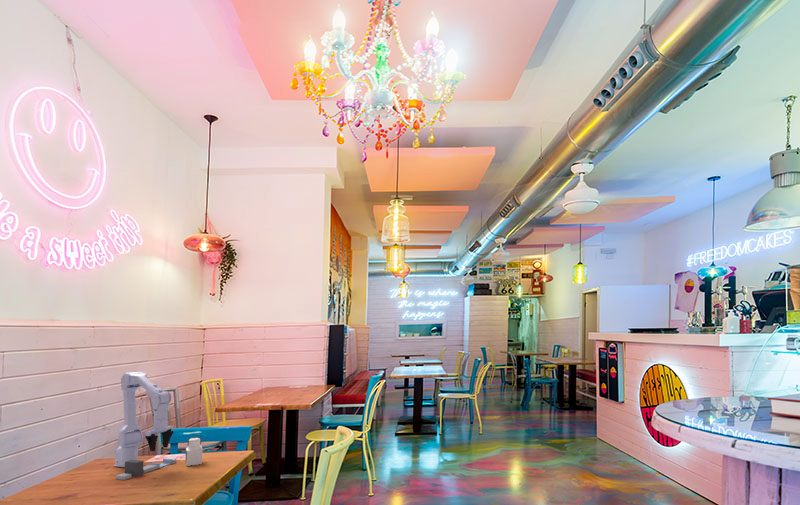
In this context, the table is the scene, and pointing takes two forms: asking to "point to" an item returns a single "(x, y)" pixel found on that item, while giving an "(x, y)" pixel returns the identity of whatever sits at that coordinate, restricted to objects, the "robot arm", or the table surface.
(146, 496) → the table surface
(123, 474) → the flanged white bar
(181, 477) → the table surface
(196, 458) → the medicine bottle
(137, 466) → the grey tapered block
